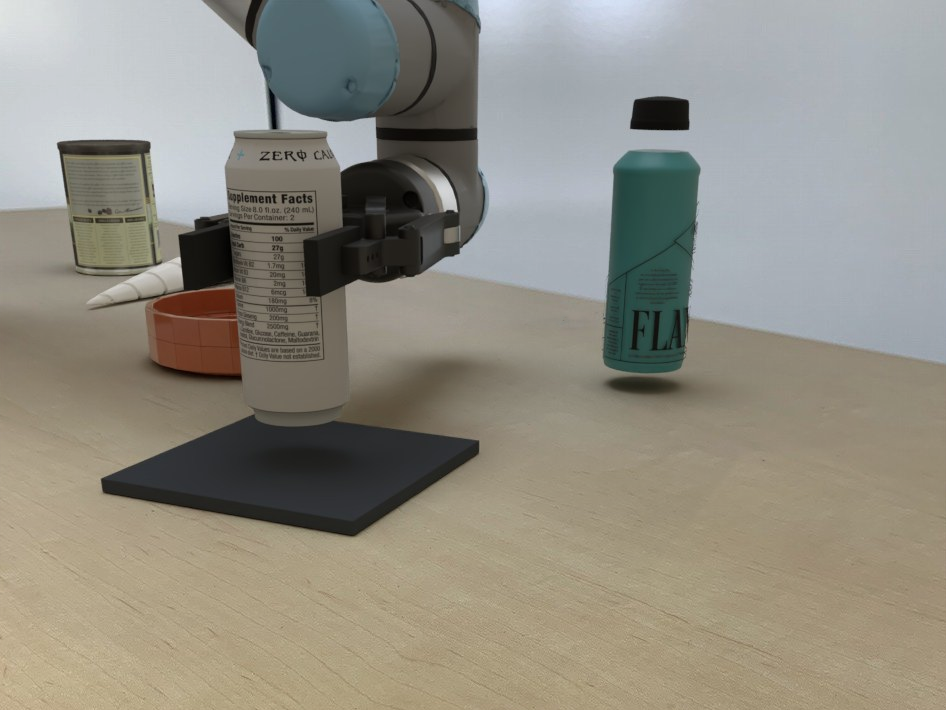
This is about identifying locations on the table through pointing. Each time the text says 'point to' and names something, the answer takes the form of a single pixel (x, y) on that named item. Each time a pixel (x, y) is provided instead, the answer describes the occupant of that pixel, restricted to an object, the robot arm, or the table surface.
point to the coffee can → (111, 206)
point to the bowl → (195, 331)
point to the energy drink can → (286, 276)
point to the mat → (296, 472)
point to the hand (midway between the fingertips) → (249, 265)
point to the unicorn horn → (145, 284)
